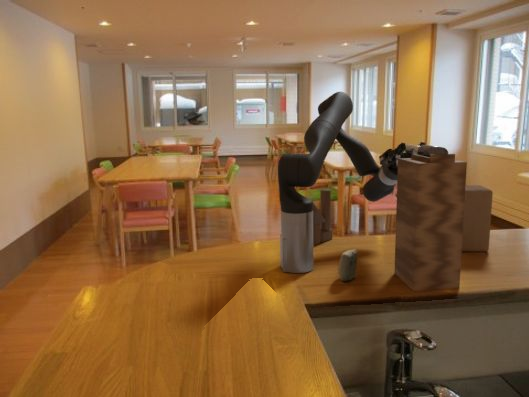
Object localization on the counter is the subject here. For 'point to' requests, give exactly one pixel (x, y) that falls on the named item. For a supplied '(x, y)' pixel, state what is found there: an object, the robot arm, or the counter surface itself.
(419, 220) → the brown tall block
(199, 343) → the counter surface
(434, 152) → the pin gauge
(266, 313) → the counter surface
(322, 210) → the wooden block
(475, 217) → the wooden block
